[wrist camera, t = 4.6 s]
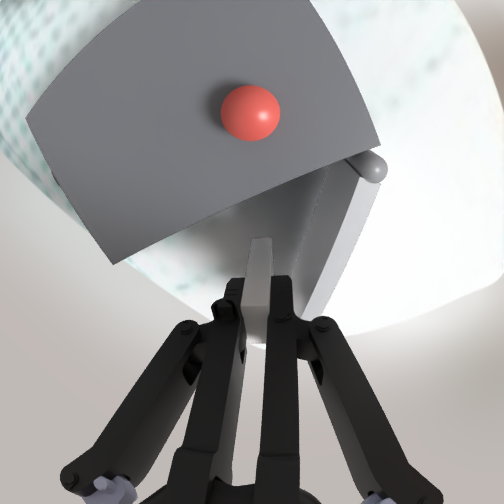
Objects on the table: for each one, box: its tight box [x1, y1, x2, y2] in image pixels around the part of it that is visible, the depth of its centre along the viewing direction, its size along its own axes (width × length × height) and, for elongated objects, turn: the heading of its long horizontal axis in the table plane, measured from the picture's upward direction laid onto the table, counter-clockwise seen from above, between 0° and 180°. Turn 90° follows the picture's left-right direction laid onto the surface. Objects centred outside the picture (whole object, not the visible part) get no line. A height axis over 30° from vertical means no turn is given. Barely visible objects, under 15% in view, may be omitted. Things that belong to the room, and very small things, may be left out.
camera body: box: [26, 0, 381, 265], centre depth 12 cm, size 10×15×8 cm, turn 117°
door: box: [290, 150, 388, 321], centre depth 16 cm, size 2×13×6 cm, turn 168°
